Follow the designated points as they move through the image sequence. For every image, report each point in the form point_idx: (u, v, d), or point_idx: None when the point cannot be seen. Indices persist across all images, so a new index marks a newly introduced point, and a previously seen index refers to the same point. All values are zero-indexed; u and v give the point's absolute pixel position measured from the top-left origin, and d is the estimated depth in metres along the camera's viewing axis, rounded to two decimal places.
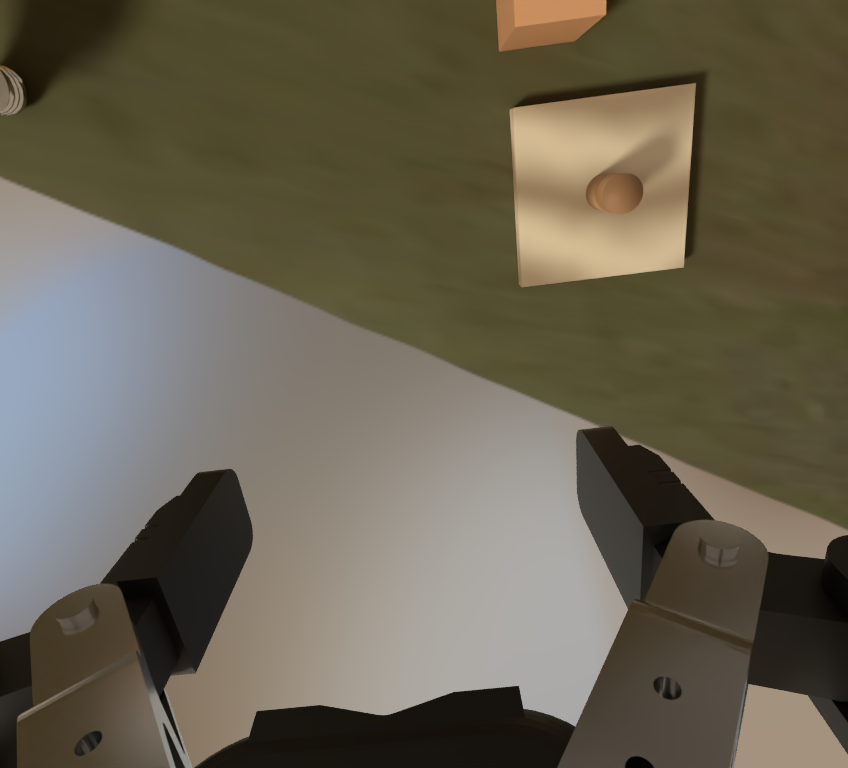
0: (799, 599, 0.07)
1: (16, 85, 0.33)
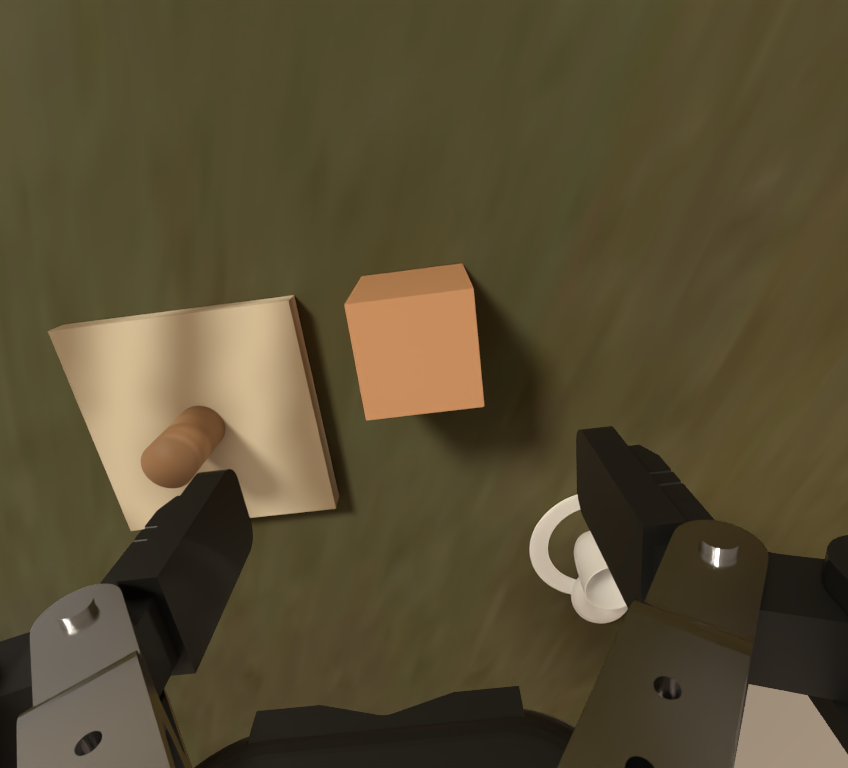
0: (799, 599, 0.07)
1: None
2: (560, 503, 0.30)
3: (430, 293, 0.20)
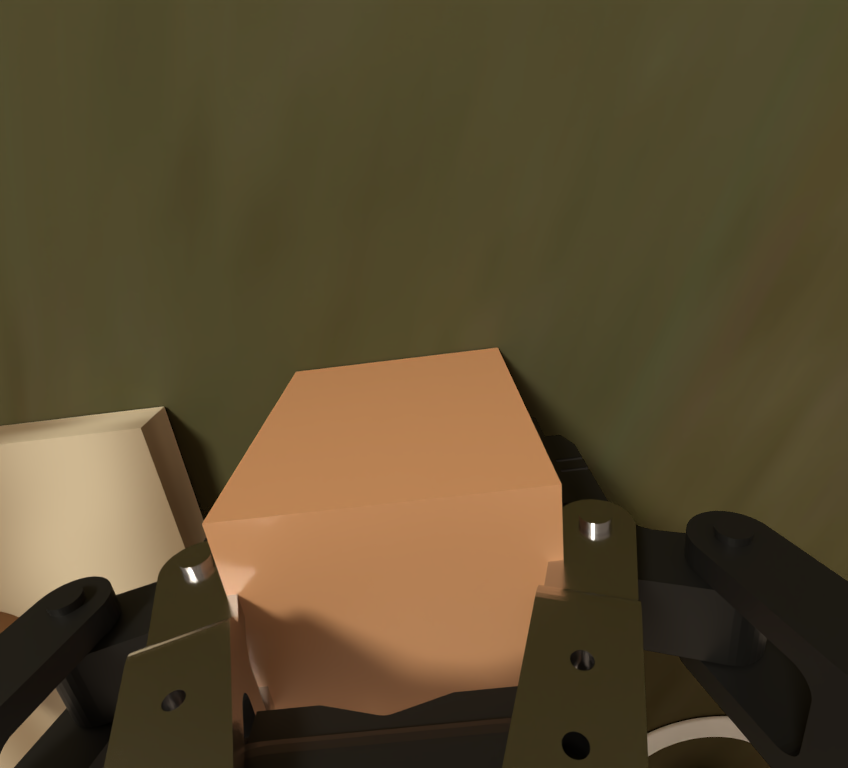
0: (660, 568, 0.08)
1: None
2: (649, 735, 0.18)
3: (440, 494, 0.07)
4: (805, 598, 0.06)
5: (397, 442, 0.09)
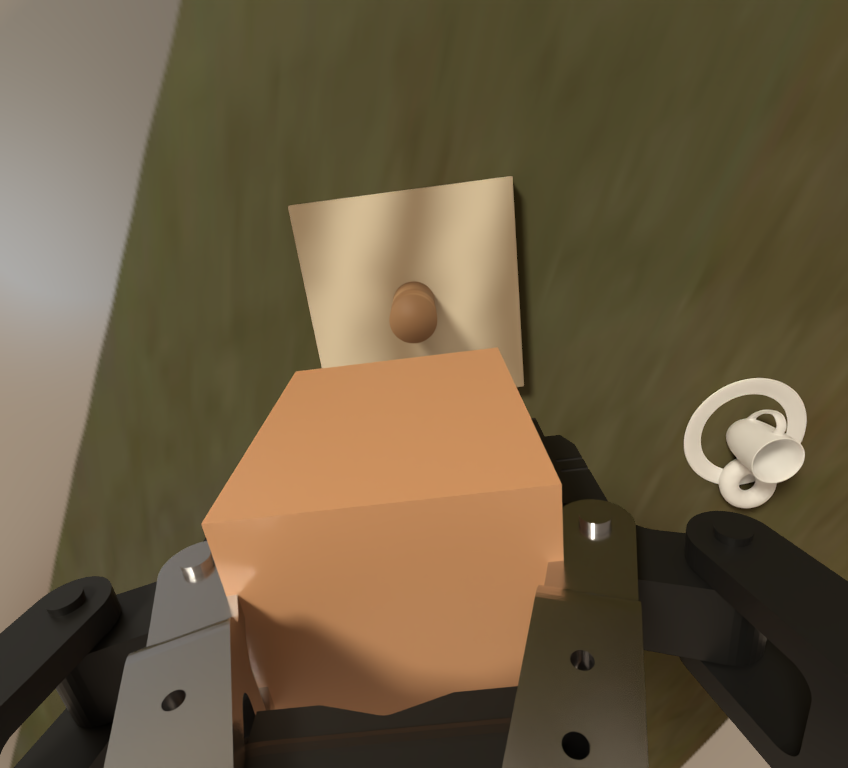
0: (661, 568, 0.08)
1: None
2: (719, 390, 0.33)
3: (440, 494, 0.07)
4: (805, 598, 0.06)
5: (397, 442, 0.09)
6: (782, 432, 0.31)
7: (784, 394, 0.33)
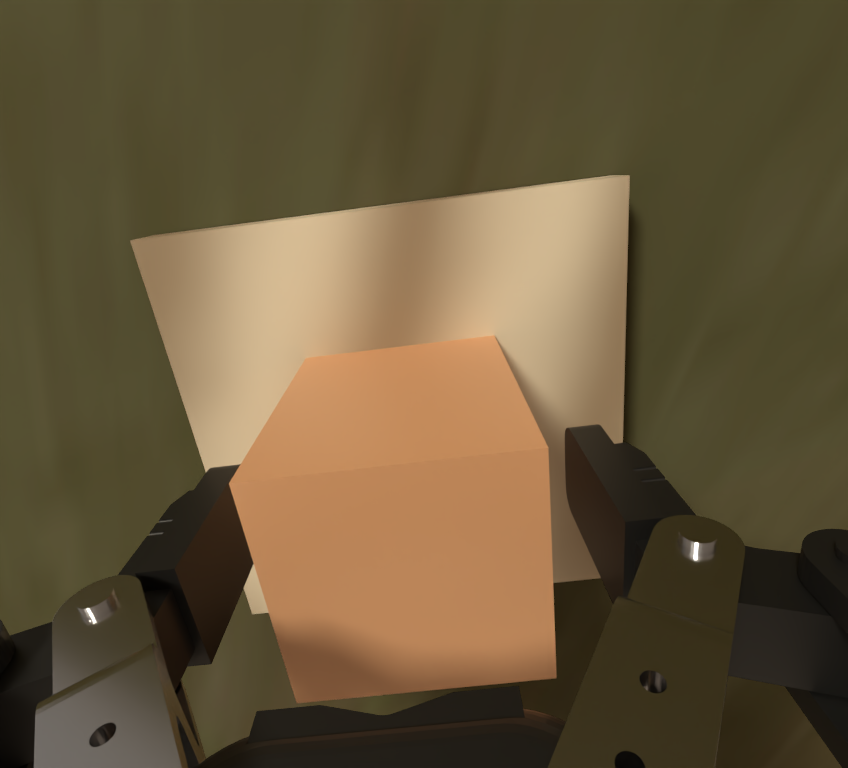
0: (774, 591, 0.07)
1: None
2: None
3: (440, 457, 0.08)
4: None
5: (402, 416, 0.10)
6: None
7: None
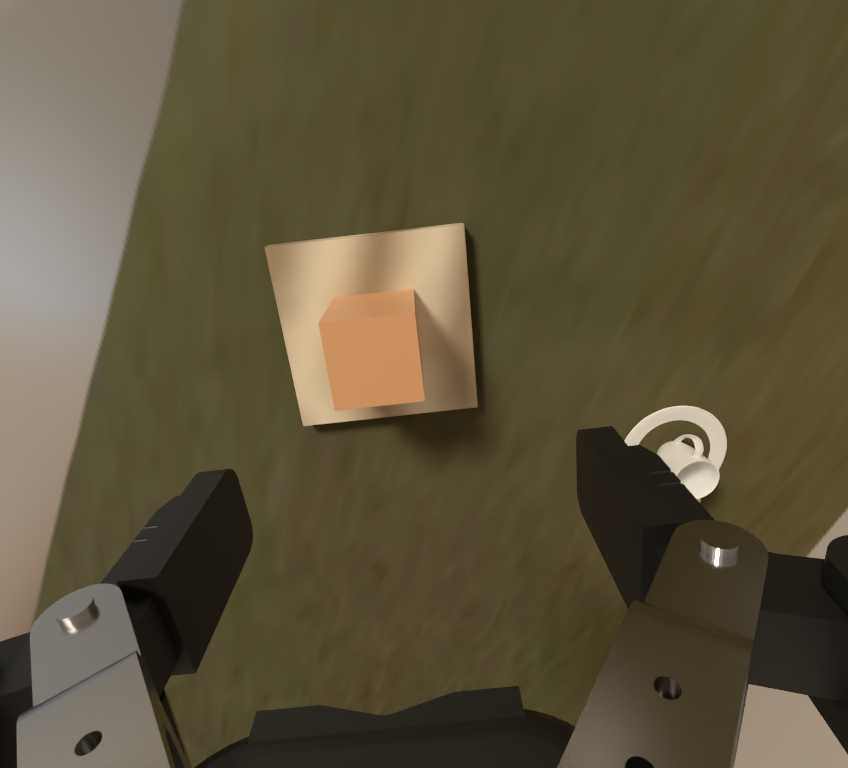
0: (799, 599, 0.07)
1: None
2: (649, 416, 0.37)
3: (382, 315, 0.27)
4: None
5: (372, 309, 0.28)
6: (700, 455, 0.35)
7: (706, 420, 0.37)
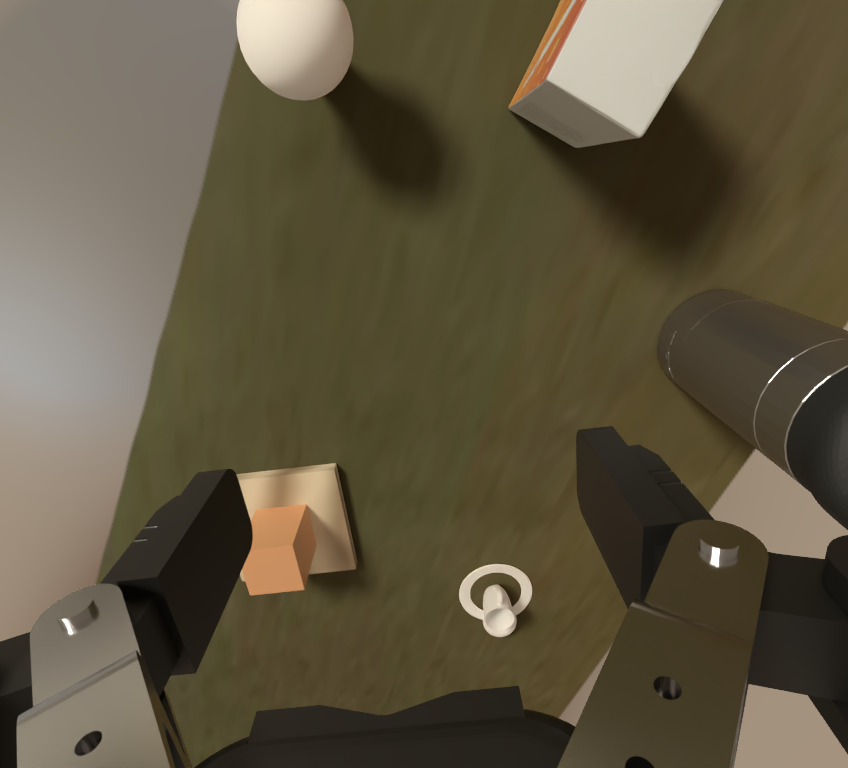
0: (799, 599, 0.07)
1: None
2: (475, 570, 0.55)
3: (273, 546, 0.45)
4: None
5: (271, 535, 0.46)
6: (500, 603, 0.52)
7: (515, 572, 0.55)
